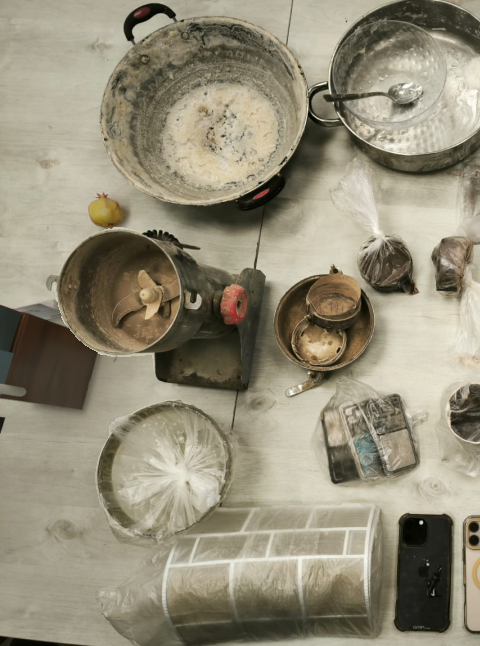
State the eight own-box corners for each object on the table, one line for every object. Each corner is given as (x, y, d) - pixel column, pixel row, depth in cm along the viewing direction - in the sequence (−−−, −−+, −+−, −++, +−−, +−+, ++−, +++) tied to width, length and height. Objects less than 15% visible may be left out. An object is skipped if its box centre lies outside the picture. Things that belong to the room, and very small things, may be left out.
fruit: (121, 222, 123) (112, 183, 125) (87, 227, 121) (78, 188, 123) (130, 235, 130) (121, 198, 132) (97, 241, 127) (89, 203, 129)
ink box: (19, 316, 124) (-16, 304, 115) (69, 305, 125) (39, 292, 115) (20, 326, 123) (-15, 315, 114) (70, 315, 124) (39, 303, 115)
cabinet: (101, 339, 123) (-25, 294, 90) (81, 409, 120) (-57, 390, 86) (58, 333, 123) (-84, 286, 90) (37, 404, 120) (-118, 382, 87)
